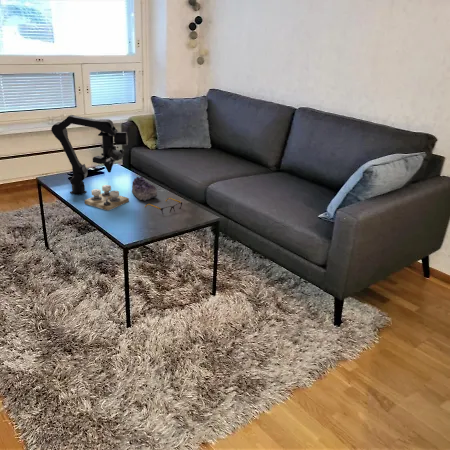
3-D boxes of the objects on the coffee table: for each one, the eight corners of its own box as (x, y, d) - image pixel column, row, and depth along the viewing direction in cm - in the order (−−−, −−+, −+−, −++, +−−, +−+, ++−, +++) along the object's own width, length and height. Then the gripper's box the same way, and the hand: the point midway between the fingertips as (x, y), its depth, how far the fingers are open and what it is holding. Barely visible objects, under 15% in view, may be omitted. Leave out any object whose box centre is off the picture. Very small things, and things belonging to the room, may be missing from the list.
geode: (124, 191, 259) (125, 174, 256) (143, 191, 266) (144, 174, 263) (139, 202, 243) (141, 183, 240) (158, 201, 250) (160, 183, 247)
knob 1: (90, 198, 239) (89, 190, 238) (96, 195, 243) (95, 188, 241) (96, 199, 237) (96, 192, 236) (102, 197, 241) (102, 190, 239)
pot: (103, 204, 233) (103, 197, 232) (106, 203, 235) (106, 195, 233) (107, 205, 232) (106, 198, 231) (110, 204, 234) (110, 196, 232)
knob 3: (108, 199, 239) (108, 192, 237) (114, 197, 242) (114, 189, 241) (115, 201, 237) (114, 194, 235) (121, 198, 240) (120, 191, 239)
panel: (84, 203, 239) (84, 199, 238) (106, 195, 252) (105, 191, 251) (108, 210, 232) (108, 206, 231) (128, 201, 245) (128, 197, 244)
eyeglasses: (162, 216, 231) (162, 208, 229) (144, 207, 239) (144, 200, 238) (183, 209, 240) (183, 202, 239) (165, 201, 249) (165, 194, 247)
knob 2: (100, 193, 246) (100, 186, 244) (106, 191, 249) (106, 184, 248) (107, 195, 244) (106, 188, 242) (113, 193, 247) (112, 186, 246)
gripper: (107, 150, 231) (109, 179, 238) (131, 143, 247) (132, 171, 253) (91, 146, 236) (92, 175, 242) (115, 140, 251) (116, 167, 258)
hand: (109, 172), depth 249 cm, fingers closed
